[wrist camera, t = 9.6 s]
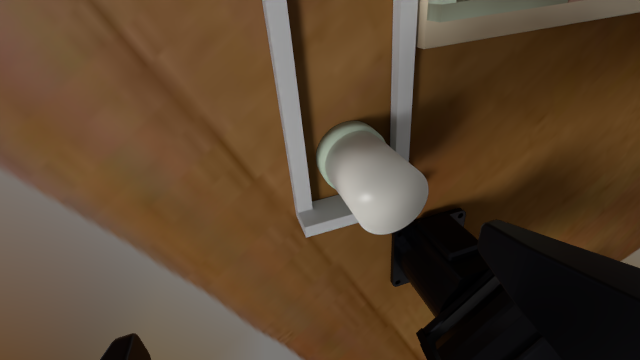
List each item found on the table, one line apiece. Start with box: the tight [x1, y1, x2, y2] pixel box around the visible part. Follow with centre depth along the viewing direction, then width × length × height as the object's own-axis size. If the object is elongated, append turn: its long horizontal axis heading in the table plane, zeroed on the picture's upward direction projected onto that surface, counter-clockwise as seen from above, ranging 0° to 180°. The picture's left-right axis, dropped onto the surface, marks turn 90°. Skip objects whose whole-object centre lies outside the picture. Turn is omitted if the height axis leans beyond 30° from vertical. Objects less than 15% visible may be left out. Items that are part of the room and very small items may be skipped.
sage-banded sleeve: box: [316, 121, 428, 234], centre depth 19 cm, size 4×4×6 cm
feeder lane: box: [262, 0, 418, 237], centre depth 19 cm, size 16×8×2 cm, turn 5°
